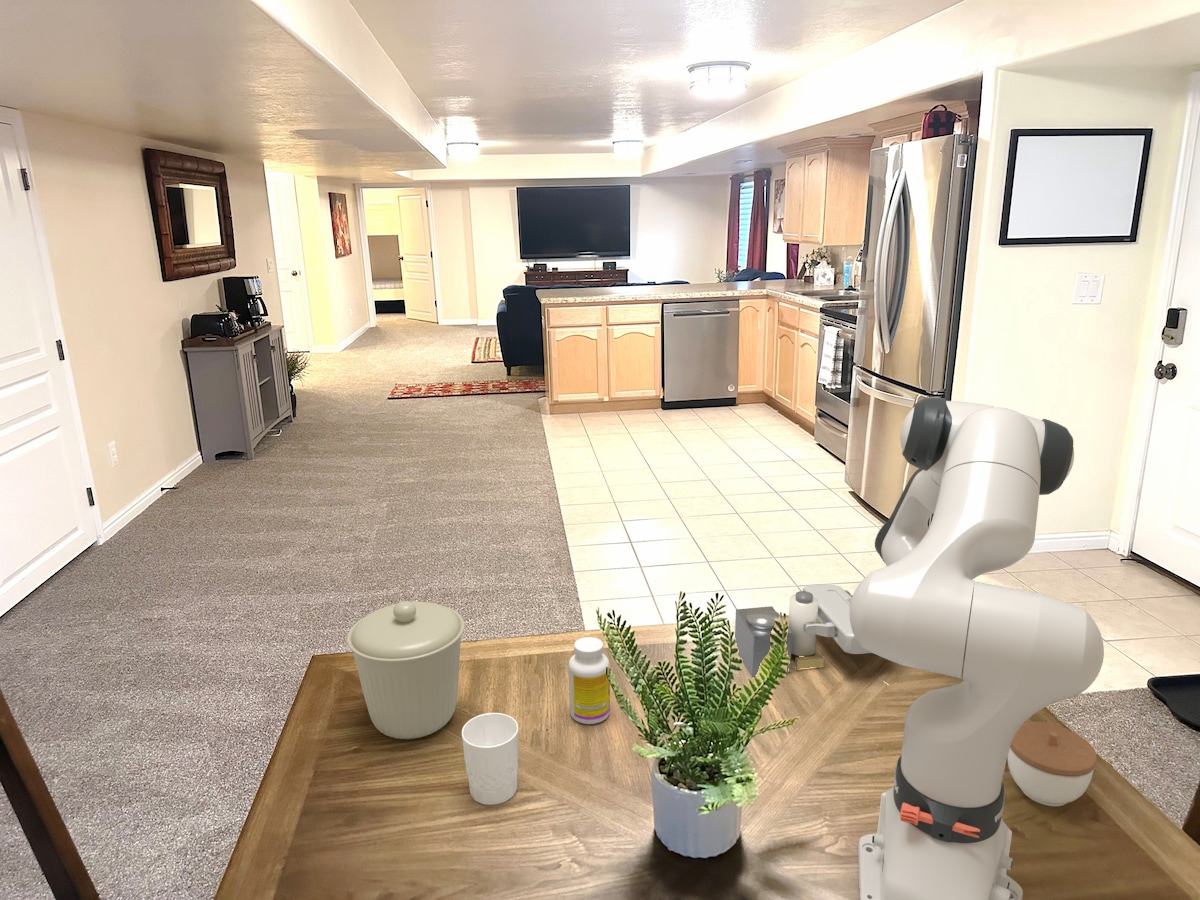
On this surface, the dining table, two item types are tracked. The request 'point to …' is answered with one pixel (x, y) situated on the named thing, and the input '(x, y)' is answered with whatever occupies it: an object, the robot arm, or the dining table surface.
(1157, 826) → the dining table surface
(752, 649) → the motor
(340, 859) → the dining table surface
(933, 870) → the robot arm
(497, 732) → the white cup
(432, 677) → the canister
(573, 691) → the supplement bottle
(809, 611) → the white bottle
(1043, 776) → the lidded jar
